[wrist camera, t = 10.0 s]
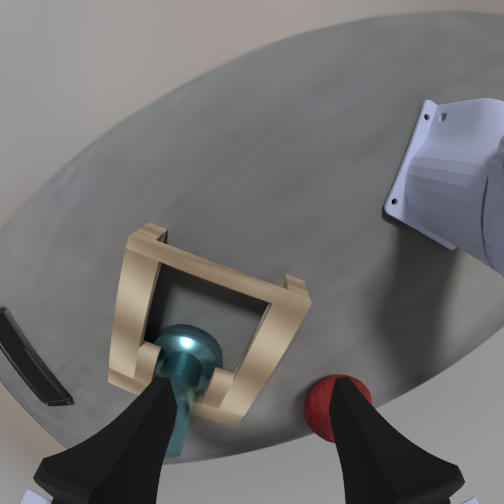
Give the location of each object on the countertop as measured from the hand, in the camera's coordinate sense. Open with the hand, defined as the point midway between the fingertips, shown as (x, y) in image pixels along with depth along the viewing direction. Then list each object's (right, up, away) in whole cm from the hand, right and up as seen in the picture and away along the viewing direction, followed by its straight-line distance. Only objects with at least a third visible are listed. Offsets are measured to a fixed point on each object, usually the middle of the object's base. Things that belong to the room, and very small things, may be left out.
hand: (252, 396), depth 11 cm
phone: (-29, -8, +15) cm, 34 cm away
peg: (-6, -2, +12) cm, 13 cm away
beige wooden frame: (-4, 0, +11) cm, 12 cm away
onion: (+7, -6, +13) cm, 16 cm away
